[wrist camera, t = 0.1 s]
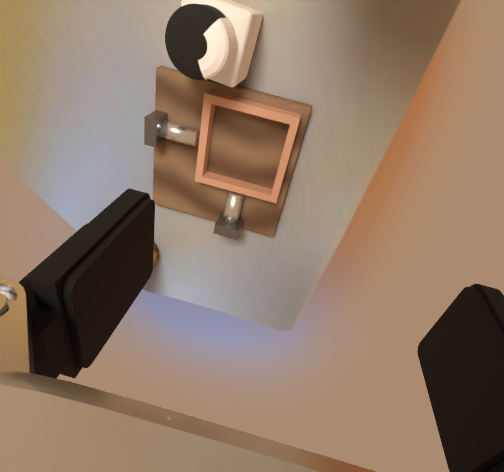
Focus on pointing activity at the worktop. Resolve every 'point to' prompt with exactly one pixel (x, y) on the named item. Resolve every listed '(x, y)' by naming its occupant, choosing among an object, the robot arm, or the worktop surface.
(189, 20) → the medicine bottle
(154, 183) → the square clamping fixture
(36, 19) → the worktop surface
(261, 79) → the worktop surface
